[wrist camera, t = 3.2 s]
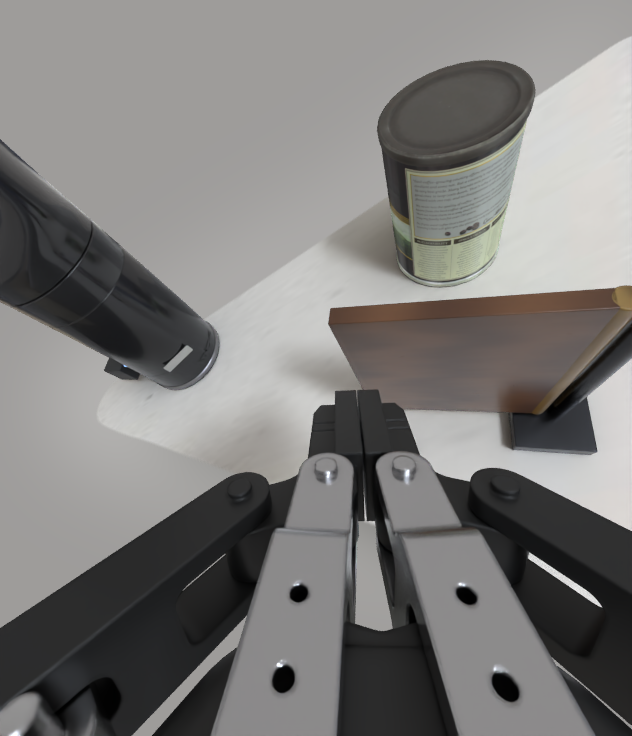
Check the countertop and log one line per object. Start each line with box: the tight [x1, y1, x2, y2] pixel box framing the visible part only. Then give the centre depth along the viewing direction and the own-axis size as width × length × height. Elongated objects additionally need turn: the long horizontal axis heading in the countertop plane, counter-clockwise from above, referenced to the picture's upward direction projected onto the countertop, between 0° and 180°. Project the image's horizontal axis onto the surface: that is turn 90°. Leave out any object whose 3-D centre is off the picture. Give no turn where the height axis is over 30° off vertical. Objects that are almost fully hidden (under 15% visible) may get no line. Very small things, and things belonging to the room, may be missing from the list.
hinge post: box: [509, 320, 632, 455], centre depth 19 cm, size 5×6×17 cm
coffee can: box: [377, 60, 535, 287], centre depth 29 cm, size 10×10×14 cm
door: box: [328, 286, 632, 415], centre depth 21 cm, size 13×1×14 cm, turn 82°
